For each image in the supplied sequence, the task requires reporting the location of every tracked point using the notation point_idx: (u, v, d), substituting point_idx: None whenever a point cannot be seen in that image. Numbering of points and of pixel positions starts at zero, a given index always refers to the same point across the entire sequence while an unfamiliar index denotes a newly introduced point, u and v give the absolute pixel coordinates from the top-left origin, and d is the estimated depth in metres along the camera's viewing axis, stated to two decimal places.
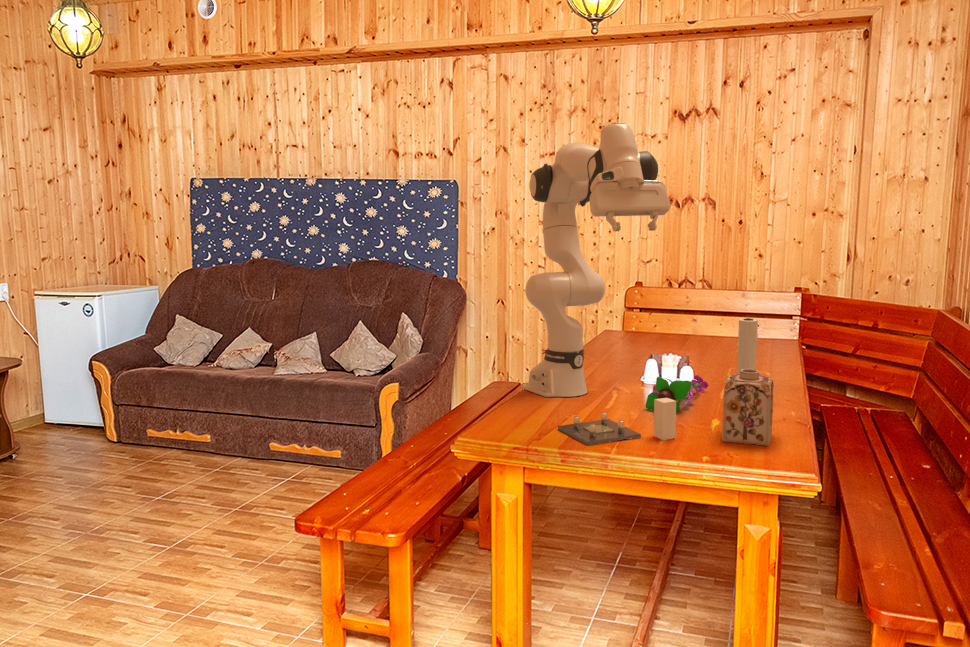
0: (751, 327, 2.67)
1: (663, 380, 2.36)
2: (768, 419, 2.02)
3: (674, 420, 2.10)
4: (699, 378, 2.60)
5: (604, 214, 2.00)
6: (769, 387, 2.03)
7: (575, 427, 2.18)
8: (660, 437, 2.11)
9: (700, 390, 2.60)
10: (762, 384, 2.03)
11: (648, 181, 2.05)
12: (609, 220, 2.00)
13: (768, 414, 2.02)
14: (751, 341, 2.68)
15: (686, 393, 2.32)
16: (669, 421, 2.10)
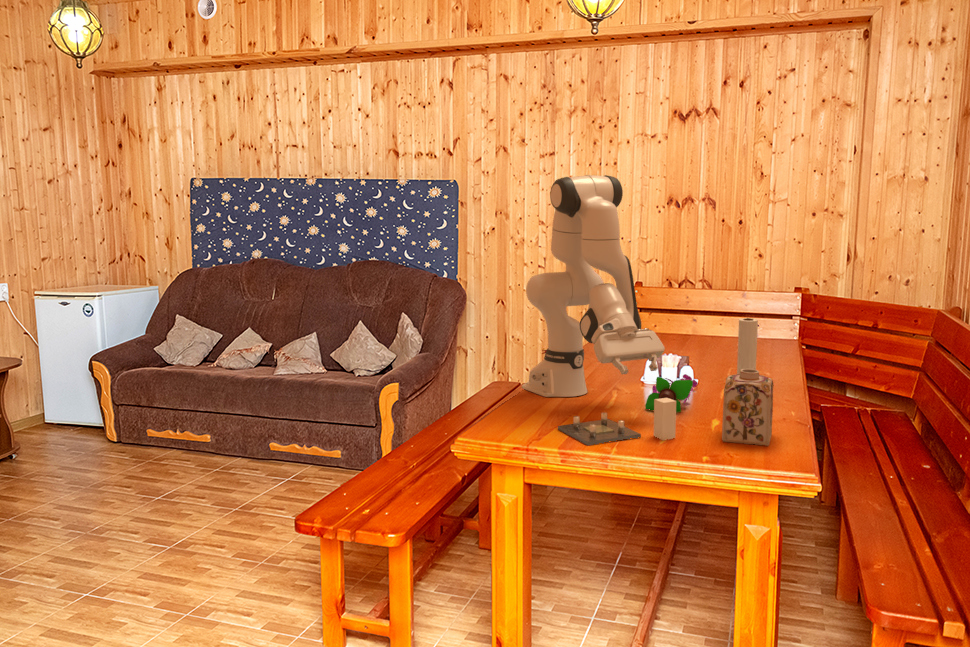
0: (751, 327, 2.67)
1: (663, 380, 2.36)
2: (768, 419, 2.02)
3: (674, 420, 2.10)
4: (688, 377, 2.62)
5: (611, 360, 2.21)
6: (769, 387, 2.03)
7: (575, 427, 2.18)
8: (660, 437, 2.11)
9: None
10: (762, 384, 2.03)
11: (640, 329, 2.30)
12: (616, 365, 2.20)
13: (768, 414, 2.02)
14: (751, 341, 2.68)
15: (688, 392, 2.33)
16: (669, 421, 2.10)
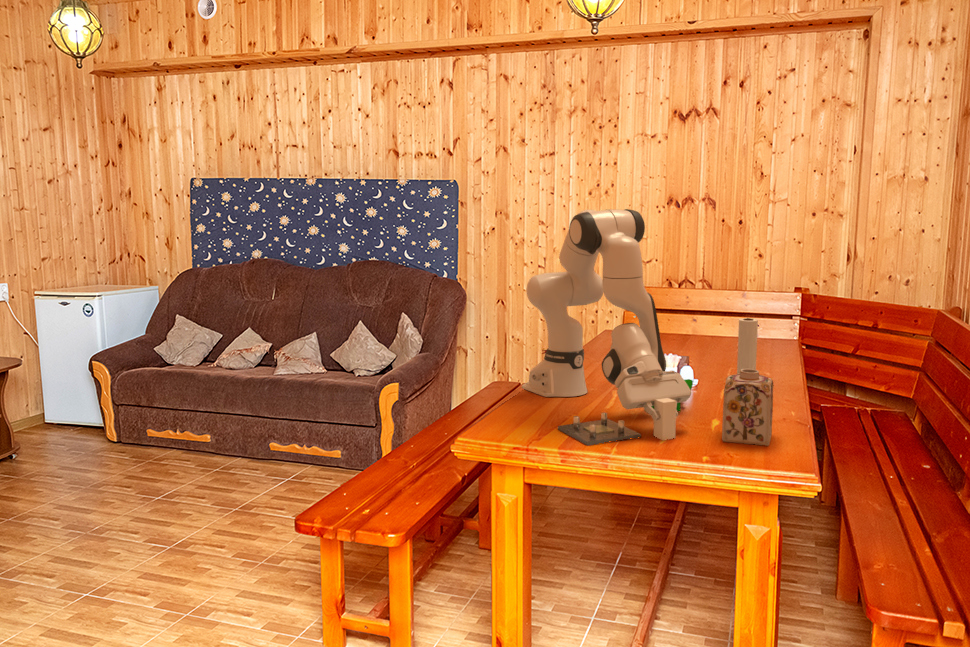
0: (751, 327, 2.67)
1: None
2: (768, 419, 2.02)
3: (674, 420, 2.10)
4: None
5: (635, 406, 2.11)
6: (769, 387, 2.03)
7: (575, 427, 2.18)
8: (660, 437, 2.11)
9: None
10: (762, 384, 2.03)
11: (665, 372, 2.20)
12: (648, 410, 2.11)
13: (768, 414, 2.02)
14: (751, 341, 2.68)
15: None
16: (669, 421, 2.10)
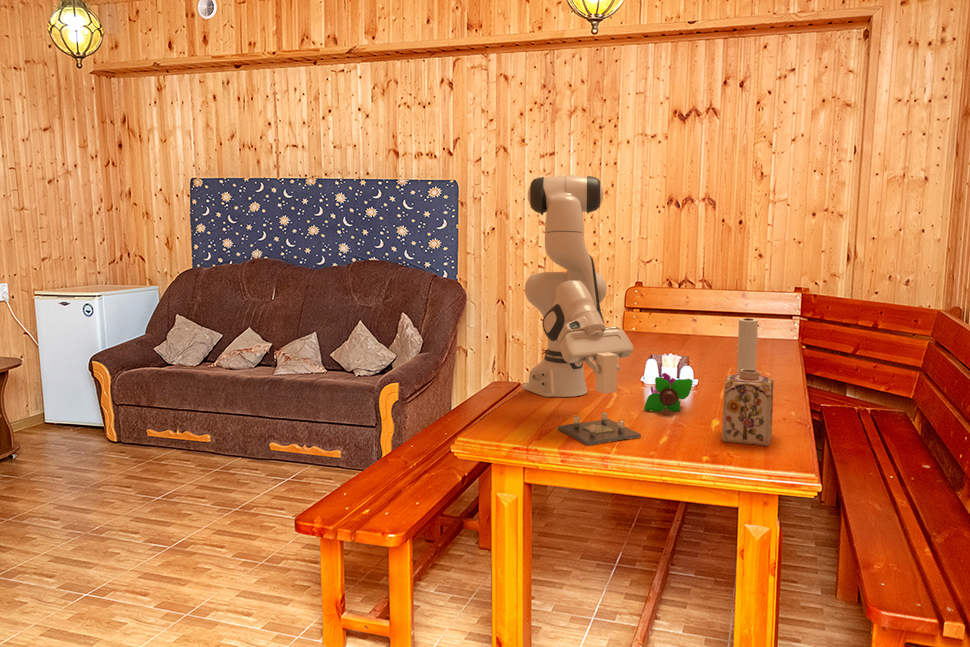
0: (751, 327, 2.67)
1: (663, 380, 2.36)
2: (768, 419, 2.02)
3: (615, 374, 2.12)
4: (666, 375, 2.65)
5: (577, 360, 2.13)
6: (769, 387, 2.03)
7: (575, 427, 2.18)
8: (601, 390, 2.12)
9: None
10: (762, 384, 2.03)
11: (608, 328, 2.22)
12: (589, 364, 2.13)
13: (768, 414, 2.02)
14: (751, 341, 2.68)
15: (688, 391, 2.35)
16: (610, 374, 2.12)
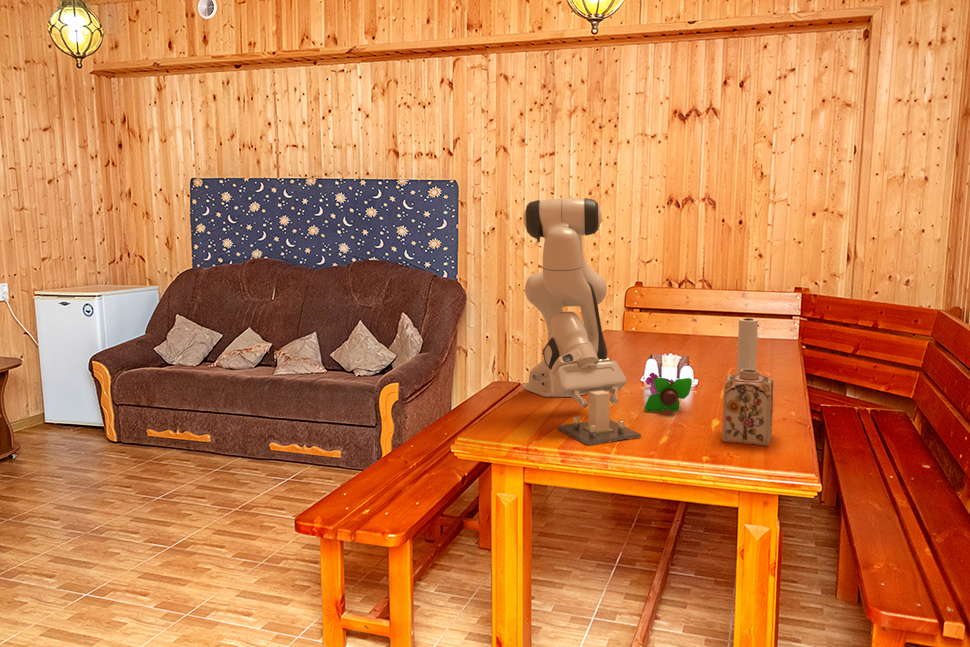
0: (751, 327, 2.67)
1: (663, 380, 2.36)
2: (768, 419, 2.02)
3: (608, 412, 2.14)
4: (654, 375, 2.65)
5: (570, 393, 2.15)
6: (769, 387, 2.03)
7: (575, 427, 2.18)
8: None
9: None
10: (762, 384, 2.03)
11: (602, 360, 2.24)
12: (575, 398, 2.14)
13: (768, 414, 2.02)
14: (751, 341, 2.68)
15: (688, 390, 2.36)
16: (603, 412, 2.14)
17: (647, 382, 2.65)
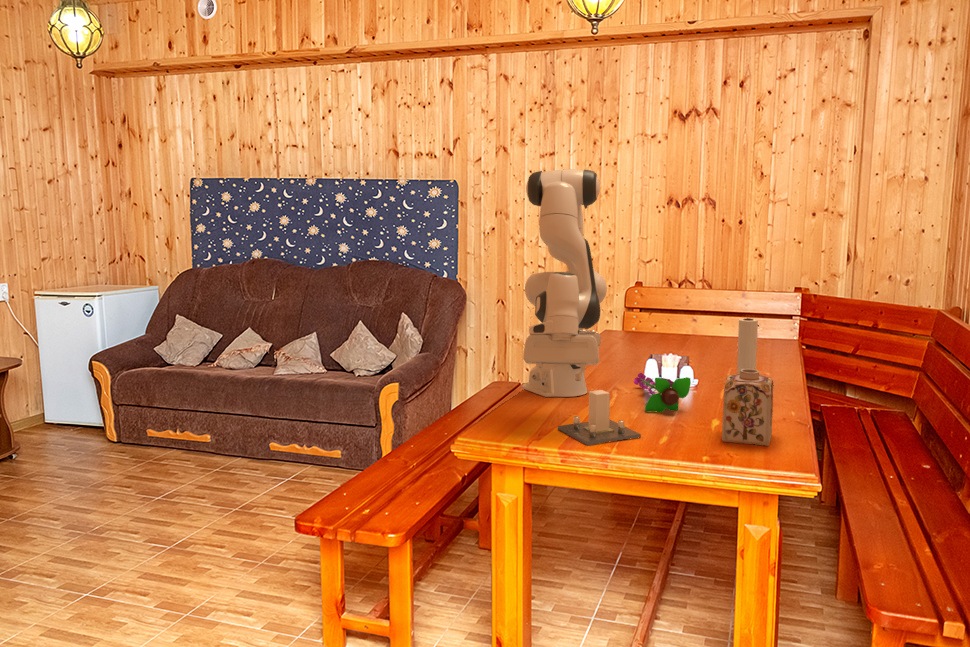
0: (751, 327, 2.67)
1: (663, 380, 2.36)
2: (768, 419, 2.02)
3: (608, 412, 2.14)
4: (642, 375, 2.65)
5: (535, 363, 2.19)
6: (769, 387, 2.03)
7: (575, 427, 2.18)
8: None
9: (644, 387, 2.66)
10: (762, 384, 2.03)
11: (583, 331, 2.17)
12: None
13: (768, 414, 2.02)
14: (751, 341, 2.68)
15: (688, 390, 2.37)
16: (603, 412, 2.14)
17: (635, 382, 2.65)
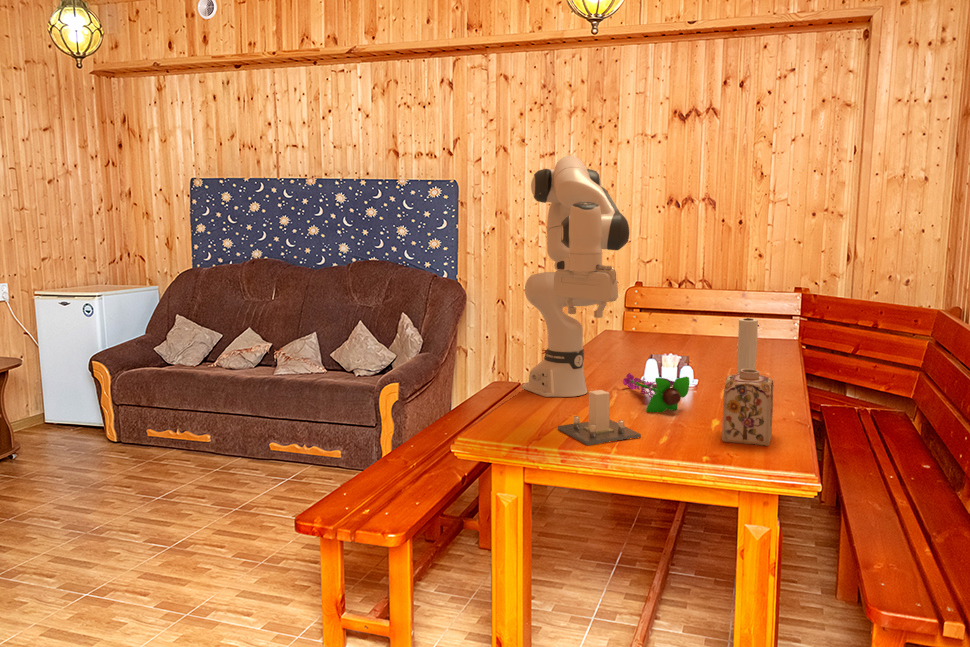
0: (751, 327, 2.67)
1: (663, 380, 2.36)
2: (768, 419, 2.03)
3: (608, 412, 2.14)
4: (630, 375, 2.65)
5: None
6: (769, 387, 2.03)
7: (575, 427, 2.18)
8: None
9: (633, 387, 2.65)
10: (762, 384, 2.03)
11: (600, 267, 2.10)
12: None
13: (768, 414, 2.02)
14: (751, 341, 2.68)
15: (687, 389, 2.38)
16: (603, 412, 2.14)
17: (624, 383, 2.64)
